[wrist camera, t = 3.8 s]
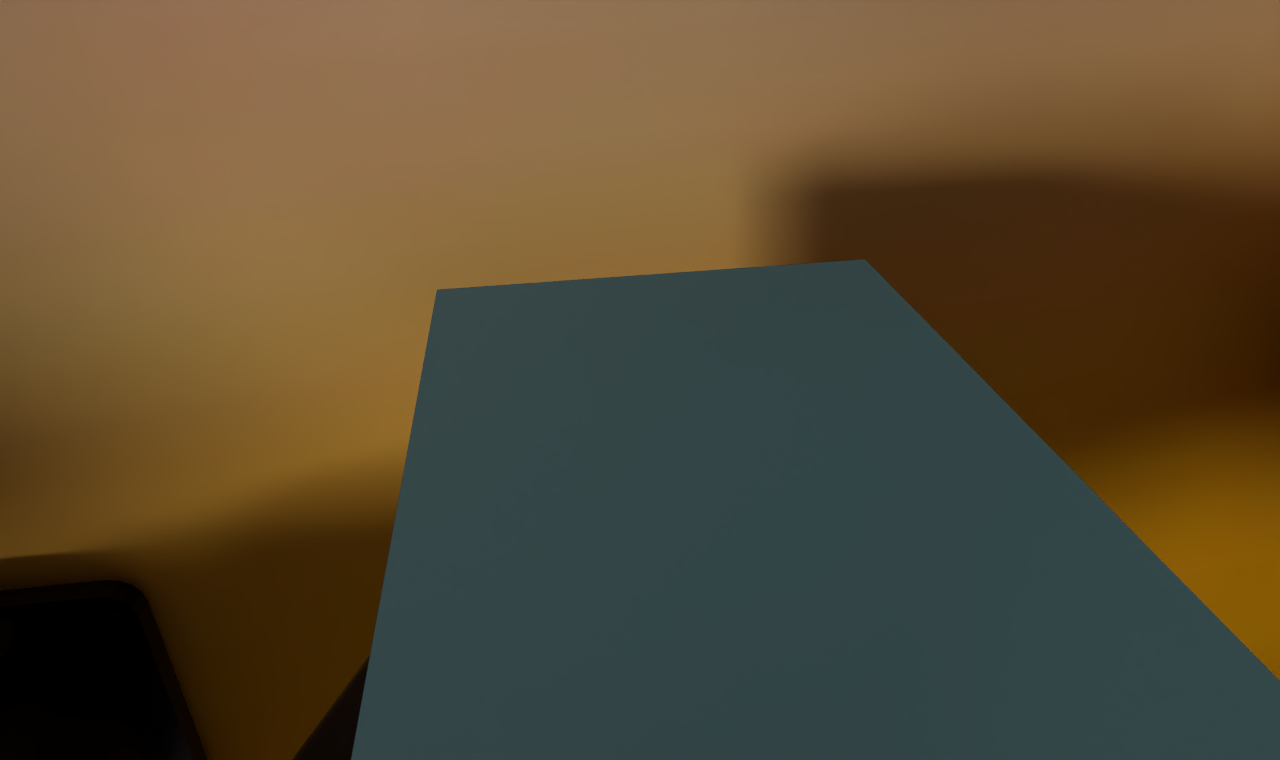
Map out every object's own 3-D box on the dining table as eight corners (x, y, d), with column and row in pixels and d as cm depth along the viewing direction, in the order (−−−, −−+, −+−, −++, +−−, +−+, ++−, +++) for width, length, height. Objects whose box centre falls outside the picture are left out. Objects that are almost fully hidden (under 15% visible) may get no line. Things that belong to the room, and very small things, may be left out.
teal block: (825, 649, 11) (1120, 1343, 6) (493, 687, 11) (479, 1472, 5) (864, 258, 9) (1434, 837, 3) (437, 289, 8) (306, 1000, 3)
